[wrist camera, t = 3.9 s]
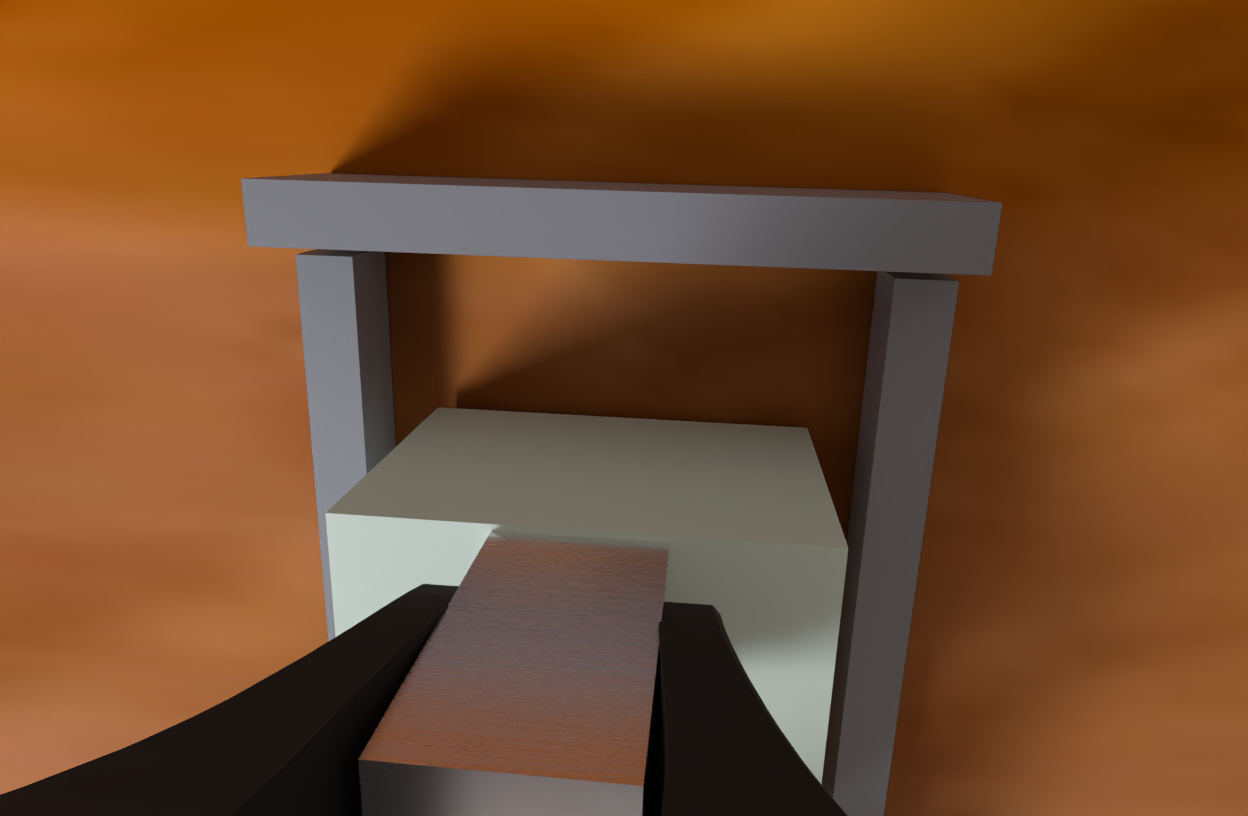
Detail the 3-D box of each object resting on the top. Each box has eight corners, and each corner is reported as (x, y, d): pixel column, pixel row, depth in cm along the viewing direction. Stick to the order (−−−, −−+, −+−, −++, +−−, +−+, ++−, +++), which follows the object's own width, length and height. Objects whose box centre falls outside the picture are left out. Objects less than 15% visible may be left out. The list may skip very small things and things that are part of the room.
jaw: (446, 635, 18) (172, 1136, 9) (438, 407, 16) (98, 726, 7) (785, 662, 17) (865, 1231, 8) (807, 428, 16) (935, 803, 7)
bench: (381, 913, 21) (254, 1206, 15) (327, 173, 16) (104, 186, 10) (843, 964, 20) (896, 1297, 14) (945, 193, 15) (1095, 220, 9)
